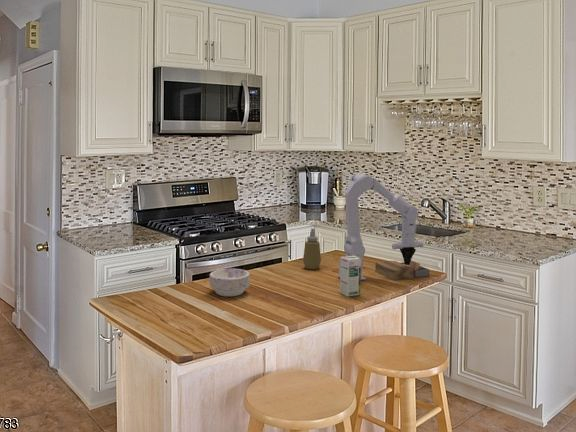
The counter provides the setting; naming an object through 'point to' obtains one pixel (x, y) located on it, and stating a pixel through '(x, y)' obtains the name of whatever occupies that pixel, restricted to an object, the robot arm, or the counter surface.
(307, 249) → the squeeze bottle
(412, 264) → the tile near
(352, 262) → the syrup box
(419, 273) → the tray
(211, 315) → the counter surface
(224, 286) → the marbled grey bowl
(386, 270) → the brown flat block
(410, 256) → the robot arm
